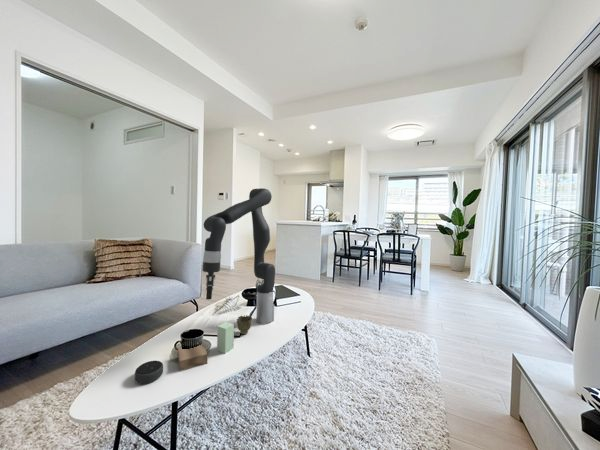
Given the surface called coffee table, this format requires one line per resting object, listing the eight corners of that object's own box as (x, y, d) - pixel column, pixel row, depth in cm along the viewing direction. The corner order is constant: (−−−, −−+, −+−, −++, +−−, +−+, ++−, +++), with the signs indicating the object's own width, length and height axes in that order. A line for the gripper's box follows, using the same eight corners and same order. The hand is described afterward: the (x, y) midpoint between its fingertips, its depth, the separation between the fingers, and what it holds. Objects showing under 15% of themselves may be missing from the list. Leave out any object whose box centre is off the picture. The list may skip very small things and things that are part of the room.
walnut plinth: (202, 351, 107) (203, 342, 107) (207, 363, 98) (207, 353, 98) (177, 357, 102) (177, 348, 102) (179, 371, 93) (180, 361, 93)
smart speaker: (143, 389, 84) (143, 377, 83) (129, 379, 88) (129, 369, 88) (168, 374, 91) (168, 364, 91) (154, 366, 96) (154, 356, 96)
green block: (225, 345, 112) (225, 321, 112) (233, 348, 110) (233, 324, 110) (217, 350, 108) (217, 326, 108) (225, 353, 106) (225, 328, 105)
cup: (247, 337, 119) (248, 322, 119) (234, 336, 121) (234, 320, 121) (253, 330, 127) (254, 315, 126) (240, 329, 128) (240, 314, 128)
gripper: (220, 263, 105) (217, 301, 104) (220, 258, 118) (217, 292, 118) (202, 262, 102) (199, 301, 102) (203, 258, 116) (201, 292, 115)
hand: (209, 296), depth 110 cm, fingers open, 8 cm apart
